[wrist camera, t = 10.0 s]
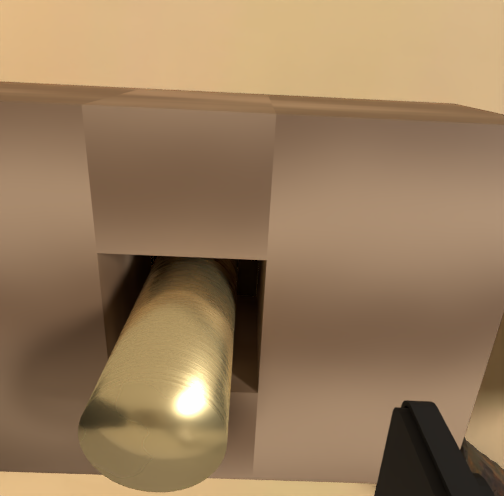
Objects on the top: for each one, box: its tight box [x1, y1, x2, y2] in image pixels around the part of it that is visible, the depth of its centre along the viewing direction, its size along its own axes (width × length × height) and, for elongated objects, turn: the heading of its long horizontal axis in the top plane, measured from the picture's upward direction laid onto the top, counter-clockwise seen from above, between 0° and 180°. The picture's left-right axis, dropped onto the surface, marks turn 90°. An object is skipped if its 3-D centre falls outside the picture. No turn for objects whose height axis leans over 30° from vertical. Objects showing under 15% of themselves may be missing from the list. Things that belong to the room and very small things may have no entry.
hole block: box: [0, 82, 504, 484], centre depth 15 cm, size 12×18×6 cm, turn 87°
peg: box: [78, 256, 239, 492], centre depth 13 cm, size 3×3×10 cm
